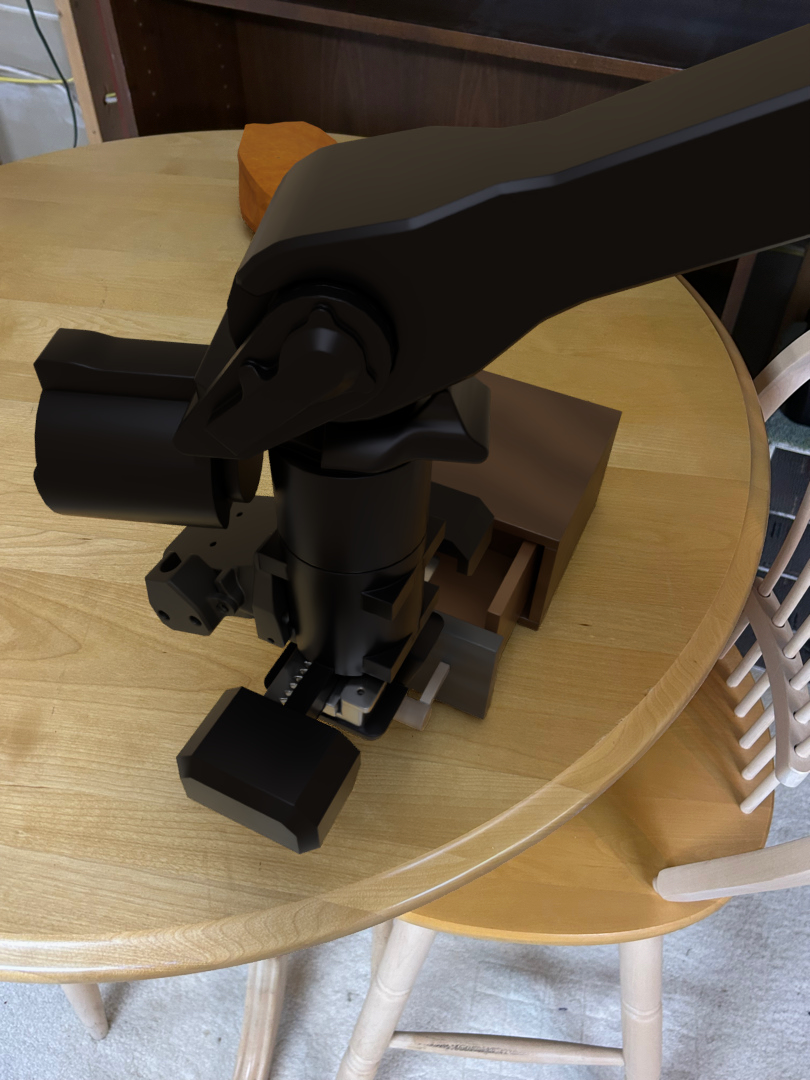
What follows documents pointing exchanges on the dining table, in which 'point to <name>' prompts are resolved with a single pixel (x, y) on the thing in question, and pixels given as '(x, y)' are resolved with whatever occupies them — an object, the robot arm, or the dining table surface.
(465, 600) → the drawer
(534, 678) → the dining table surface
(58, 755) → the dining table surface
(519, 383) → the cabinet
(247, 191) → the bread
